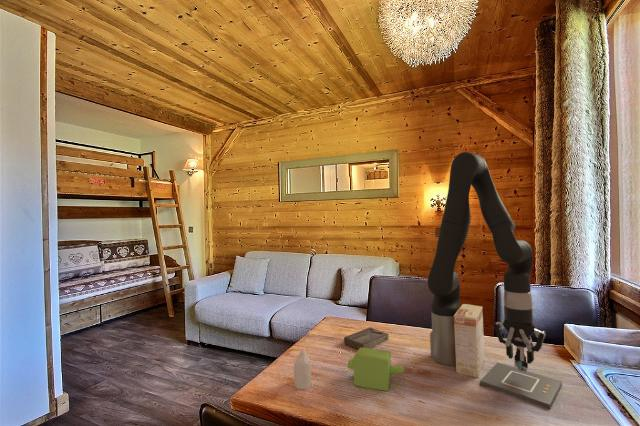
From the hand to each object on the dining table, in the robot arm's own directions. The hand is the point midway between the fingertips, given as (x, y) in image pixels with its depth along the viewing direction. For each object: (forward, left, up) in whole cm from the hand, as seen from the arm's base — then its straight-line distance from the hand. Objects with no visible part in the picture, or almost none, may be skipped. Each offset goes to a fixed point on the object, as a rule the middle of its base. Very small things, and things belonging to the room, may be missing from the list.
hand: (520, 359), depth 98 cm
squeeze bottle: (-50, -46, -8) cm, 69 cm away
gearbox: (-34, -28, -8) cm, 45 cm away
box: (-56, -6, -9) cm, 56 cm away
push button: (0, 0, -3) cm, 3 cm away
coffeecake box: (-16, +2, -8) cm, 18 cm away
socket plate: (0, 0, -8) cm, 8 cm away
